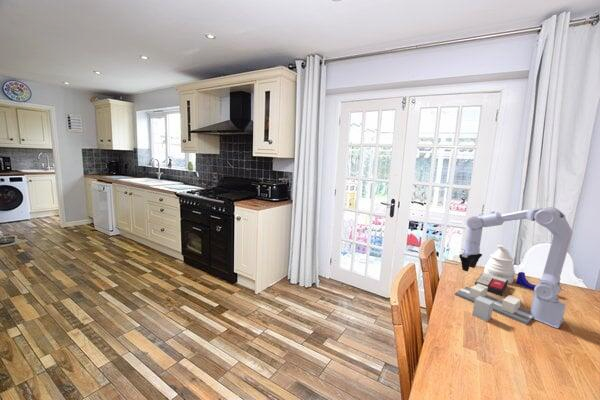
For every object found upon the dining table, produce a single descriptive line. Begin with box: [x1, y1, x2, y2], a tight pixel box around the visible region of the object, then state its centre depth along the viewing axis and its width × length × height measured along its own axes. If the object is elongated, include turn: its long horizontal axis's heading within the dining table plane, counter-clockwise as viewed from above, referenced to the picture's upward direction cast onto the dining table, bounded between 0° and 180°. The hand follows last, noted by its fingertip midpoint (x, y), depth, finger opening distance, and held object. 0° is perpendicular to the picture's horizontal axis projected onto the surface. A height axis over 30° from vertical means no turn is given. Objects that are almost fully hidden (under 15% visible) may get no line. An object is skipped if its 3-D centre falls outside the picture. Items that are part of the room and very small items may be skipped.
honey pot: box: [483, 244, 516, 285], centre depth 142 cm, size 13×13×18 cm
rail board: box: [454, 286, 533, 326], centre depth 116 cm, size 26×12×1 cm, turn 37°
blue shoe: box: [515, 271, 537, 291], centre depth 133 cm, size 12×4×6 cm, turn 25°
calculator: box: [474, 272, 508, 297], centre depth 132 cm, size 11×4×15 cm
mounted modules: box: [469, 284, 522, 314], centre depth 115 cm, size 16×8×4 cm, turn 37°
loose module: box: [471, 296, 494, 322], centre depth 105 cm, size 5×4×7 cm
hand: (468, 268), depth 127 cm, fingers open, 7 cm apart
